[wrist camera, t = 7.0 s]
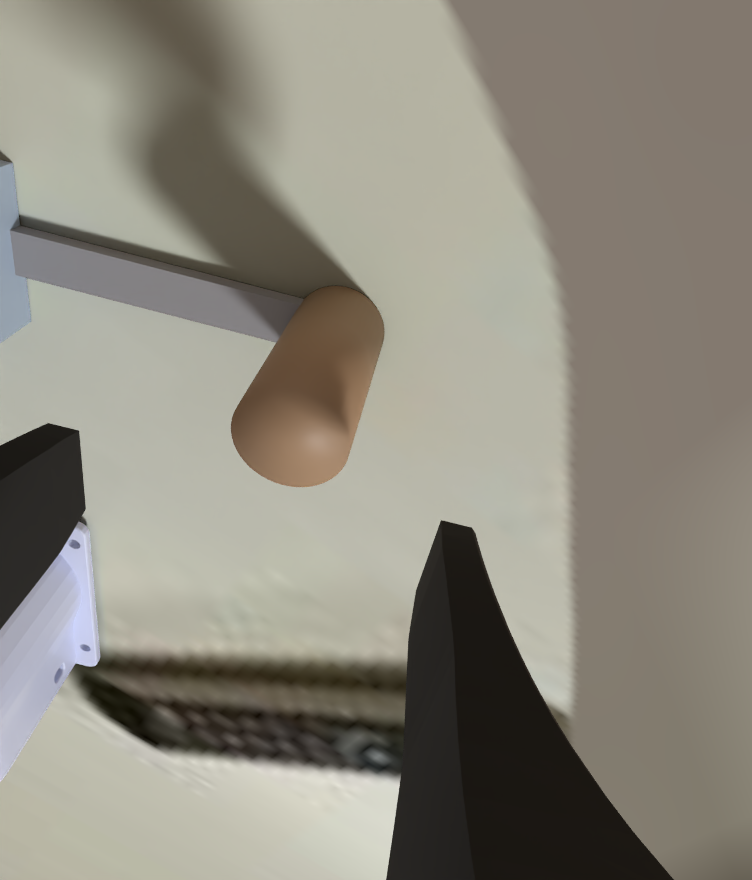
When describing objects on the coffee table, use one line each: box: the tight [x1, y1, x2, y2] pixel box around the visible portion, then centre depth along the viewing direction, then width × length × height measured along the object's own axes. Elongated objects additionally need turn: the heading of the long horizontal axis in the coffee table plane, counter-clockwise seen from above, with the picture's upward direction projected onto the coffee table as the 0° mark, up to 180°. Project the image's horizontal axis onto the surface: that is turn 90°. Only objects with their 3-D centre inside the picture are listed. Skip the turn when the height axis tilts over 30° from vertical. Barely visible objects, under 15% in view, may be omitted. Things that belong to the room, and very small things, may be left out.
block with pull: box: [0, 160, 384, 487], centre depth 17 cm, size 5×16×6 cm, turn 78°
